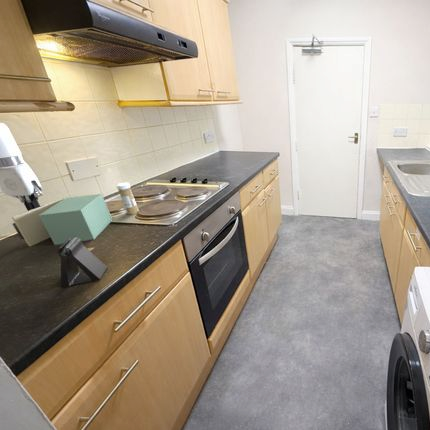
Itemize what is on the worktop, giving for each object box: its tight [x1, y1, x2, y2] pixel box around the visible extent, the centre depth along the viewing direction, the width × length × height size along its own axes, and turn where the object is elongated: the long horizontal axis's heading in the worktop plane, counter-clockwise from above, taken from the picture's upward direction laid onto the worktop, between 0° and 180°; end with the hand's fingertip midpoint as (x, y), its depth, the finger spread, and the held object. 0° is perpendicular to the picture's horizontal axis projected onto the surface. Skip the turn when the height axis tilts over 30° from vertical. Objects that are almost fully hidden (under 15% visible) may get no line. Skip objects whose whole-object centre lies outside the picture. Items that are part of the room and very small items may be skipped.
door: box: [11, 197, 66, 247], centre depth 98 cm, size 4×17×12 cm, turn 171°
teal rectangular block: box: [39, 193, 113, 246], centre depth 100 cm, size 12×17×12 cm
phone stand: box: [56, 237, 108, 289], centre depth 74 cm, size 9×6×12 cm, turn 109°
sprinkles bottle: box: [116, 182, 140, 215], centre depth 115 cm, size 5×5×14 cm
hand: (35, 211), depth 96 cm, fingers closed
